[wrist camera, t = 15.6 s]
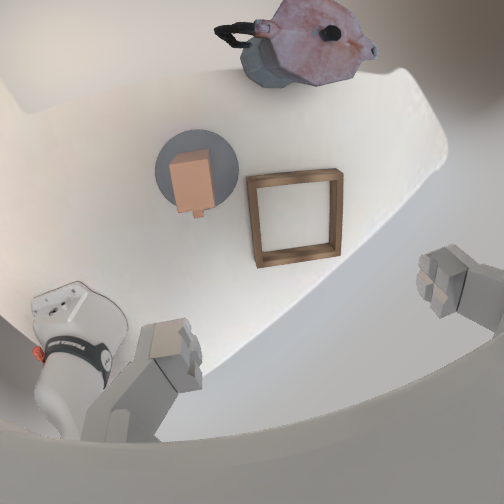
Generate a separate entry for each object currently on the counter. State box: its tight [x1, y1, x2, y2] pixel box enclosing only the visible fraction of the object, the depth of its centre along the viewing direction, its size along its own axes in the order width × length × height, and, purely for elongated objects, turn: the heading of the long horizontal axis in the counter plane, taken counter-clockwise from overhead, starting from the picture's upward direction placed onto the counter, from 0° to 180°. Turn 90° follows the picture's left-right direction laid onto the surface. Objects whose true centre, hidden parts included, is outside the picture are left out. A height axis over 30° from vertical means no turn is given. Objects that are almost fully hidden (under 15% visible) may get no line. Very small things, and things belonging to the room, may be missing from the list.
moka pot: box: [214, 0, 379, 88], centre depth 26 cm, size 10×15×20 cm, turn 92°
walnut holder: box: [246, 168, 343, 268], centre depth 45 cm, size 14×14×3 cm
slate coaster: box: [155, 130, 239, 210], centre depth 41 cm, size 12×12×1 cm
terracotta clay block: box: [169, 149, 215, 218], centre depth 37 cm, size 8×4×8 cm, turn 5°
